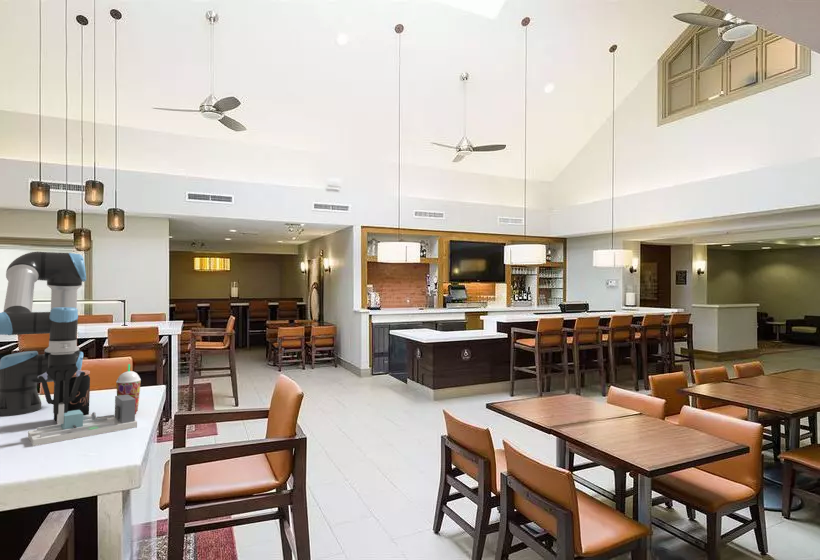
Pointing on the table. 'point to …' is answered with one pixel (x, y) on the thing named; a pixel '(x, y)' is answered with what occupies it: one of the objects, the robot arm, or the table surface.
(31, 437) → the board
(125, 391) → the smoothie
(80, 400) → the coffee jar
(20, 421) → the table surface
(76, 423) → the gauge slider
